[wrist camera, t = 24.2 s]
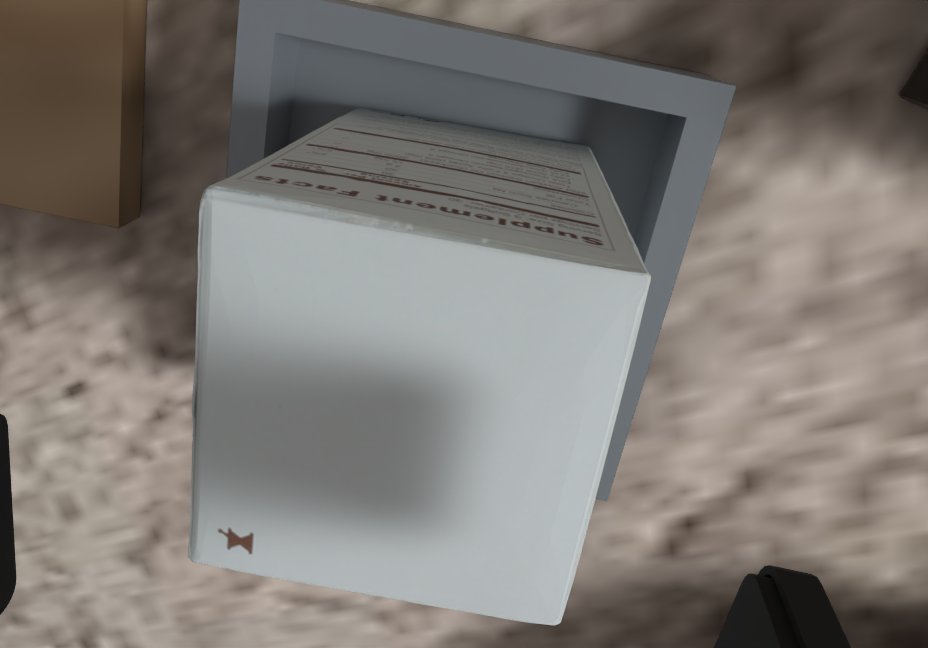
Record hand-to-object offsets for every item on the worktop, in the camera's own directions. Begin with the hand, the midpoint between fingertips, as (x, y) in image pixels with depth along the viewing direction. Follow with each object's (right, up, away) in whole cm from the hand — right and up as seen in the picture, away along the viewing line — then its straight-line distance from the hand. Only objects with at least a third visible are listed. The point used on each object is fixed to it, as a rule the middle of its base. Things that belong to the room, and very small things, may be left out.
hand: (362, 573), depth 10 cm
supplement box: (+1, +6, +15) cm, 16 cm away
